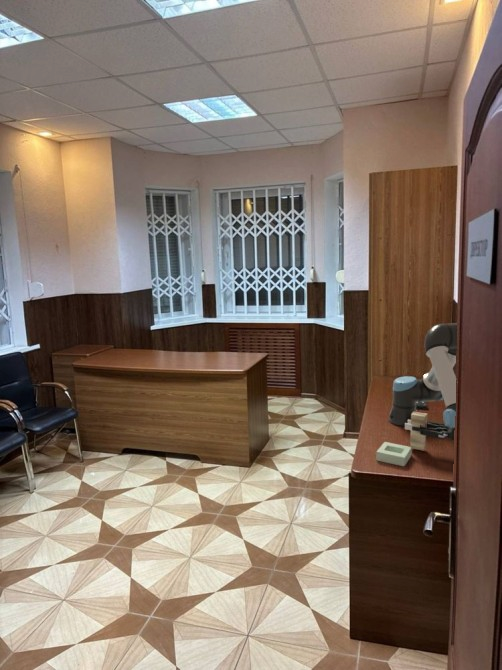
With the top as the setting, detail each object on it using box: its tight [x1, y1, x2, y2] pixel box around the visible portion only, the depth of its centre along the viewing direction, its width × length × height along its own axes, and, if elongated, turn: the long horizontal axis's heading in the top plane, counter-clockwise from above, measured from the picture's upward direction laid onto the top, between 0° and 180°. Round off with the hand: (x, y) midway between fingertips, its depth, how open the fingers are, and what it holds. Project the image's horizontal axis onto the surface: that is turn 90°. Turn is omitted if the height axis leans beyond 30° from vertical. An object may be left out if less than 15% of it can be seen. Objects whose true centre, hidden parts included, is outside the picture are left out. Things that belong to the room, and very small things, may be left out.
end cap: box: [375, 441, 413, 467], centre depth 205 cm, size 12×12×4 cm
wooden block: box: [409, 411, 428, 451], centre depth 211 cm, size 4×6×16 cm, turn 58°
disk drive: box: [416, 401, 428, 411], centre depth 272 cm, size 10×3×15 cm
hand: (406, 424), depth 213 cm, fingers closed on wooden block, 4 cm apart
